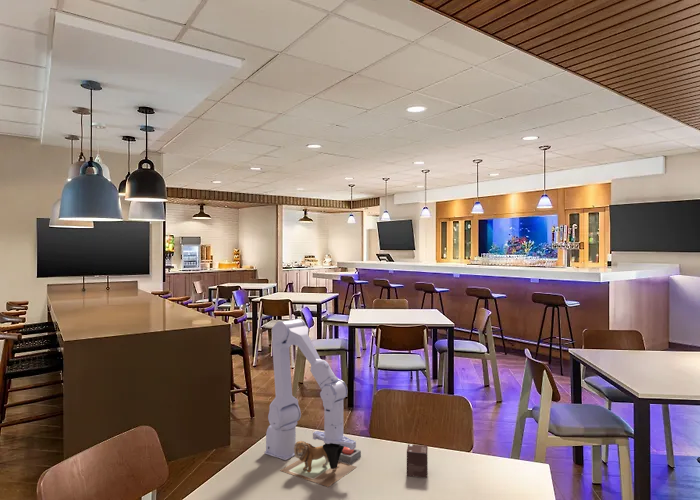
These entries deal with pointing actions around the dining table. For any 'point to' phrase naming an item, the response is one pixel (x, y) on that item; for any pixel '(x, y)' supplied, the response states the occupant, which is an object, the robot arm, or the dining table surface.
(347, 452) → the button
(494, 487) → the dining table surface
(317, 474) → the picture sheet
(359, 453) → the button housing
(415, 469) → the box
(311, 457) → the lion figurine
